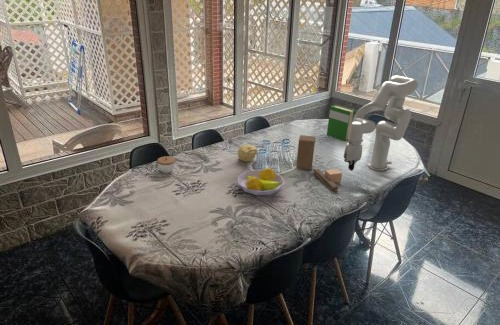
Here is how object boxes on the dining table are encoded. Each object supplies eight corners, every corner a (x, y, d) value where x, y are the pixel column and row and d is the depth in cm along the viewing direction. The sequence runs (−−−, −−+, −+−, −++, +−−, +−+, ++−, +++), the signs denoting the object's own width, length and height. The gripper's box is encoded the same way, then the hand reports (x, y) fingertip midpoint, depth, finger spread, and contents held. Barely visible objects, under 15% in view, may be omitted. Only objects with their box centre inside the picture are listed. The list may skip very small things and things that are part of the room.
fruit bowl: (230, 182, 215) (230, 165, 210) (271, 175, 225) (272, 159, 220) (248, 206, 192) (249, 187, 187) (293, 197, 202) (295, 179, 197)
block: (335, 177, 227) (336, 168, 224) (340, 181, 222) (341, 173, 219) (324, 178, 224) (325, 170, 222) (328, 183, 219) (330, 174, 217)
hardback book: (350, 139, 288) (355, 109, 278) (345, 141, 284) (349, 111, 274) (332, 133, 300) (336, 104, 290) (326, 134, 295) (330, 106, 285)
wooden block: (311, 170, 234) (314, 141, 226) (295, 168, 236) (298, 139, 227) (312, 164, 243) (315, 136, 235) (297, 162, 245) (300, 134, 236)
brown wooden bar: (318, 173, 231) (318, 168, 230) (337, 191, 211) (338, 186, 209) (313, 173, 230) (314, 169, 229) (332, 191, 210) (333, 187, 208)
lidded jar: (179, 171, 226) (178, 157, 222) (164, 176, 218) (163, 162, 214) (169, 165, 232) (168, 152, 228) (154, 170, 225) (153, 157, 221)
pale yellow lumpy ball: (245, 165, 237) (246, 149, 233) (234, 159, 245) (234, 144, 241) (258, 160, 244) (259, 146, 240) (247, 155, 252) (247, 140, 248)
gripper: (362, 138, 222) (358, 165, 230) (340, 141, 218) (337, 168, 226) (369, 143, 216) (364, 170, 224) (347, 145, 211) (343, 173, 220)
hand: (350, 169), depth 225 cm, fingers closed
